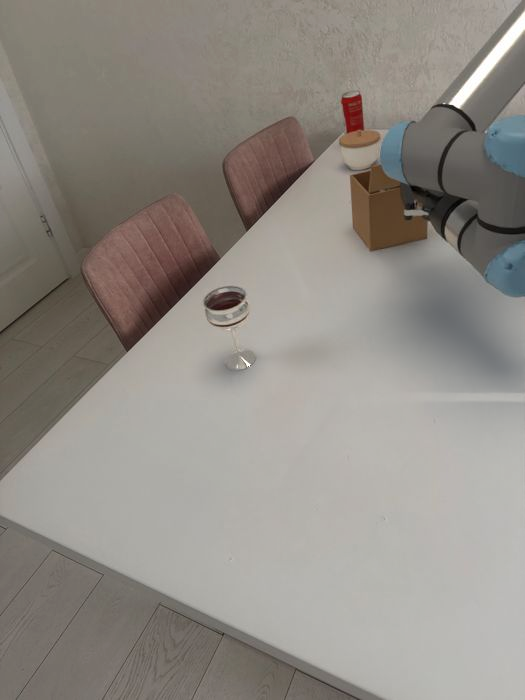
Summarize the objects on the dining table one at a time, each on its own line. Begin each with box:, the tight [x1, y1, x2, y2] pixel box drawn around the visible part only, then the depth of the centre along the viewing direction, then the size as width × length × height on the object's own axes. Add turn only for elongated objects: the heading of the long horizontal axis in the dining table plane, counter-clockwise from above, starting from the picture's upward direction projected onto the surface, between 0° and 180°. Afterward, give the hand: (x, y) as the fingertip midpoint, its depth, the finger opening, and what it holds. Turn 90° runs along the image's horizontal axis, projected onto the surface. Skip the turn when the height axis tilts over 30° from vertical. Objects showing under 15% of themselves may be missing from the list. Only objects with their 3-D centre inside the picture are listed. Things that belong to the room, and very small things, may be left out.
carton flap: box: [369, 163, 400, 193], centre depth 90 cm, size 6×12×1 cm
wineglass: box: [202, 285, 256, 371], centre depth 77 cm, size 7×7×12 cm
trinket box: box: [338, 129, 381, 171], centre depth 133 cm, size 11×11×9 cm
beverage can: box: [340, 90, 365, 135], centre depth 144 cm, size 6×6×15 cm
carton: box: [349, 169, 429, 252], centre depth 101 cm, size 12×12×12 cm
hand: (403, 169), depth 88 cm, fingers closed
